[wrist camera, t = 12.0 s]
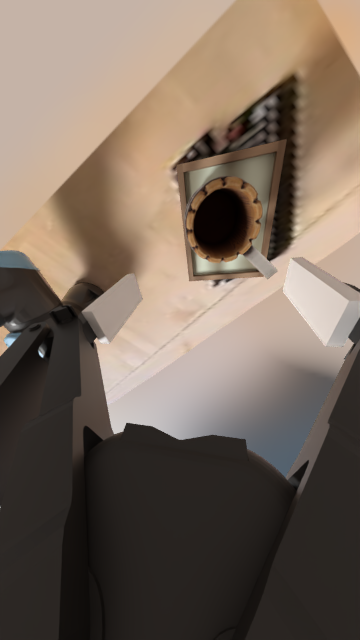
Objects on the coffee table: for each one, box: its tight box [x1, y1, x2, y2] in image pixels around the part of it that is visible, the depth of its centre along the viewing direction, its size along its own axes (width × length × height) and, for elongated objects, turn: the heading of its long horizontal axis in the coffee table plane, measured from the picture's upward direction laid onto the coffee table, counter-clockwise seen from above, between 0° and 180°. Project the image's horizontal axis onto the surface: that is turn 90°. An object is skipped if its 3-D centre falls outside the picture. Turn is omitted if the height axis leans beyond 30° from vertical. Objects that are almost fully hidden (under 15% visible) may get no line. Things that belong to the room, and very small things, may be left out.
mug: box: [184, 176, 277, 279], centre depth 24 cm, size 16×11×15 cm
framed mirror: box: [177, 139, 287, 281], centre depth 32 cm, size 16×20×5 cm
